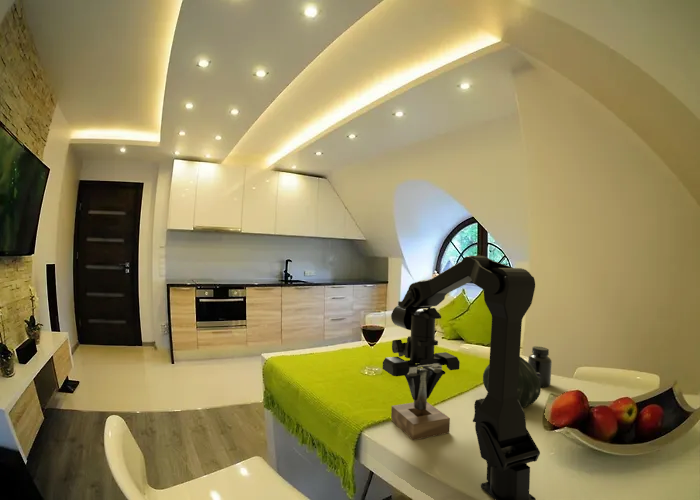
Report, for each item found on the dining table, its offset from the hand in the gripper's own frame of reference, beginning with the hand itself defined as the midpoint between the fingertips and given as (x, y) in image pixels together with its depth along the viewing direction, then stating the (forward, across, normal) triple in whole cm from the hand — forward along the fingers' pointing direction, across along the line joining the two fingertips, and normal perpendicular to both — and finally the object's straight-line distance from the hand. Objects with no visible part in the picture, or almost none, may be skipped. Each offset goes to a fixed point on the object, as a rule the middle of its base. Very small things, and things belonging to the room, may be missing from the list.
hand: (420, 398), depth 86 cm
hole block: (+7, 0, 0) cm, 7 cm away
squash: (+7, -34, -4) cm, 35 cm away
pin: (+2, 0, 0) cm, 2 cm away
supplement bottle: (+7, -55, -12) cm, 57 cm away
